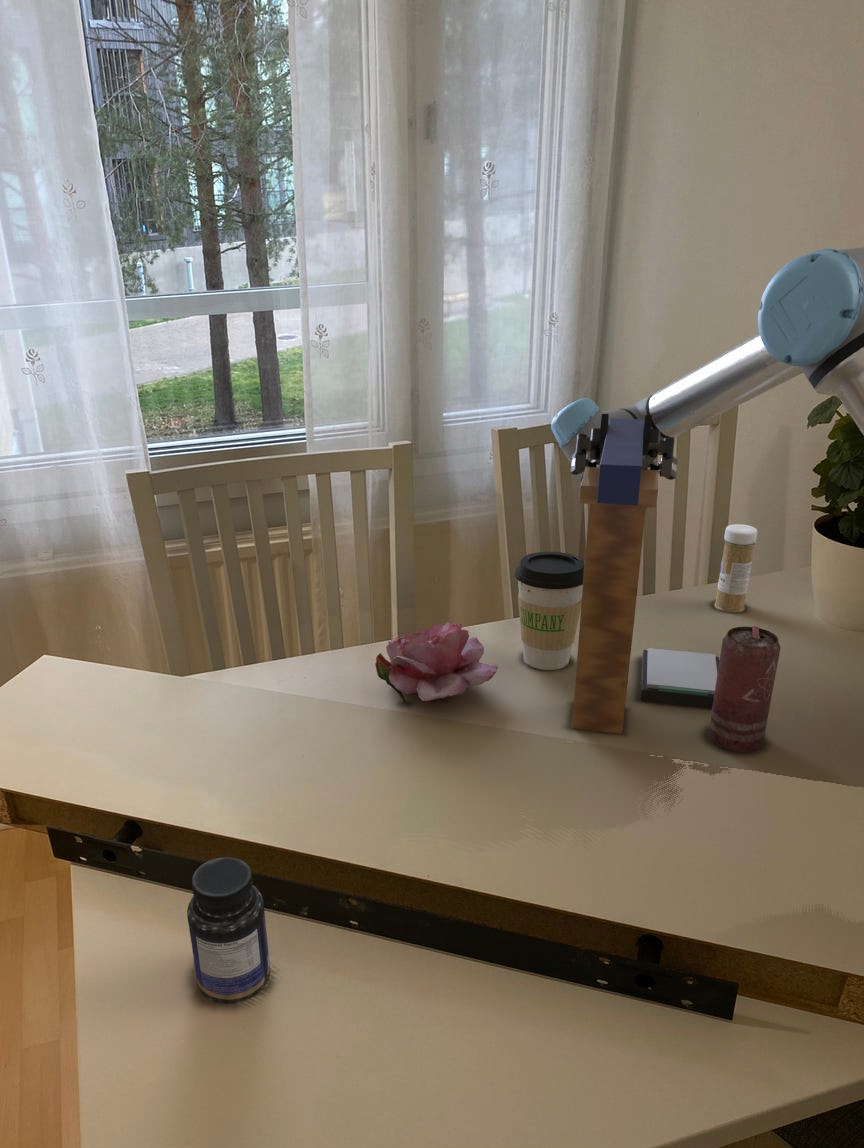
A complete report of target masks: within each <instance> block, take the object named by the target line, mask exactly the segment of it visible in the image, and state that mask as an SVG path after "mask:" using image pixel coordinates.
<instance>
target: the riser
mask: <svg viewBox="0 0 864 1148" xmlns="http://www.w3.org/2000/svg"><path fill="white" fill-rule="evenodd" d="M599 471H600V468H597V467H586V468H585V472H584V476H583V479H582V482H581V483H580V489H579V500H578V501H579V504H582V505H588V514H587V525H586V539H585V552H584V577H583V590H582V602H581V610H580V615H579V628H578V641H577V642H578V643H577V655H576V665H575V666H576V668H575V679H574V680H575V681H574V693H573V705H572V706H573V707H572V710H573V711H572V718H571V719H572V720H571V729H577V730H585V731H593V732H601V733H602V732H603V733H612V734H621V735H622V734H623V729H624V720H625V710H626V702H627V701H626V700H627V692H628V683H629V672H630V663H631V654H632V646H633V645H632V644H633V636H634V628H635V627H634V626H635V616H636V606H637V599H638V588H639V578H640V571H641V570H640V569H641V561H642V560H641V559H642V551H643V540H644V530H645V522H646V513H647V508H654V509H656V508H657V505H658V496H659V495H658V494H659V474H658V470H641V480H640V491H639V501H638V505H621V504H601V503H597V497H598V484H599ZM646 507H647V508H646Z"/></svg>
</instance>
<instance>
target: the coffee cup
mask: <svg viewBox="0 0 864 1148" xmlns="http://www.w3.org/2000/svg"><path fill="white" fill-rule="evenodd" d="M584 564H585V560H583V559H582V558H581V557H578V556H577V555H574V554H572V553H571V554H570V553H567V552H562V551H561V552H560V551H539V552H533V553H529V554H526V555H524V556H523V557H522V558H521V559H520V561H519V564H518V565H517V566H516V568H515V572H514V577H515V579H516V580H517V584H518V593H517V600H518V613H519V624H520V625H519V627H520V637H521V641H522V653H523V661H524V663H525V664H527V665H528V666H529V667H532V668H535V669H537V670H543V671H544V670H545V671H554V670H560V669H562V668H565V667H566V666H568V665H569V662H570V658H571V653H572V649H573V645H574V642H575V640H576V639H575V638H576V634H577V629H578V625H579V624H578V623H579V621H580V615H581V602H582V590H583V577H584Z"/></svg>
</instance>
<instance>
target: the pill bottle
mask: <svg viewBox="0 0 864 1148" xmlns="http://www.w3.org/2000/svg"><path fill="white" fill-rule="evenodd" d="M253 884H254V880H253V875H252V870H251V867H250V866H249V865H248V864H247V863H246V862H245V861H244V860H242V859H240V858H236V857H231V856H229V857H228V856H227V857H226V856H223V857H217V858H213V859H210V860H208V861H206V862H204V863H203V864H201V865H200V866H199V867H197V869H195V871H194V873H193V875H192V878H191V888H192V895H193V896H191V898H190V901H189V902H188V906H187V910H186V913H187V914H186V916H187V923H188V931H189V937H190V942H191V950H192V957H193V964H194V971H195V977H196V981H197V985H198V988H199V991H200V993H201V994H202V995H203V996H204V997H205V998H207V999H208V1000H209V1001H212V1002H214V1003H218V1004H224V1005H228V1004H237V1003H241V1002H244V1001H247V1000H250V999H252V998H253V997H255V996H256V995H258V994H259V993H260V992H261V991H263V989H264V988H265V986H266V984H267V983H268V981H269V980H270V975H271V963H270V953H269V952H270V951H269V943H268V942H269V941H268V933H267V924H266V923H267V922H266V914H265V901H264V897H263V895H262V893H261V892H260V890H259V889H258V888H257V887H256V886H255V885H253Z"/></svg>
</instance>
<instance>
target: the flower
mask: <svg viewBox="0 0 864 1148" xmlns="http://www.w3.org/2000/svg"><path fill="white" fill-rule="evenodd" d="M463 626H464V623H462V622H461V623H457V624H455V625H454V623H453V622H451V621H449V622H446V623H445V624H439V623H435V624H433V625H432V626H430V627H429V629H422V628H420V629H419V630H417V632H416V633H414V634H411V633H406V634H404V635H403V636H400V637H396V638H395V639H391V640H388V644H387V645H386V646H385V648H386V654H387V656H388V658H389V659H388V660H389V661H388V660H387V659H386V657H384V655H383V654H382V653H381V652H380V653H379V654H378V655H376V657H375V671H376V674H377V677H378V678H379V679H380V680H383V681H385V683H386V684H387V685H388V686H390V687H391V688H392V689H393V690H394V691H395V692H396V693H397V694H398V695H399V697H400V698H401V700H402V701H403V702H404V704H405V705H408V702H407V699H406V697H405V695H404V694H406V695H410V694H417V695H418V698H419V699H420V700H421V701H422V702H430V701H436V700H439V699H444V698H447V697H453V696H460V695H462V694H464V693H465V692H466V691H467V689H468V686H472V687H475V686H479V685H482V684H484V683H486V682H488V681H490V680H491V679H492V678H493V677H494V676H495V675H496V674H497V673H498V668H499V667H498V663H484V662H481V661H480V660H481V659H482V657H483V656H484V652H485V647H484V645H483V644H482V643H481V642H480V641H479V639H478V638H477V637H475V636H472V637H470V635H469V630H466V629H463Z"/></svg>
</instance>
